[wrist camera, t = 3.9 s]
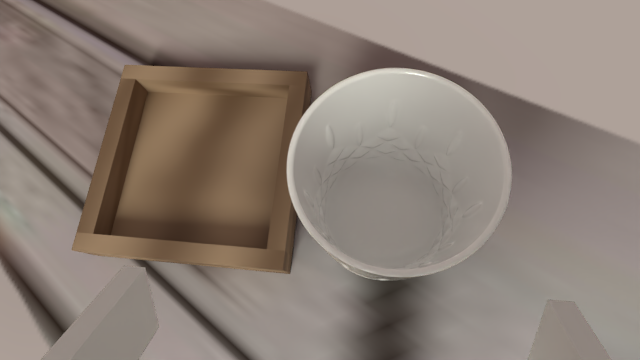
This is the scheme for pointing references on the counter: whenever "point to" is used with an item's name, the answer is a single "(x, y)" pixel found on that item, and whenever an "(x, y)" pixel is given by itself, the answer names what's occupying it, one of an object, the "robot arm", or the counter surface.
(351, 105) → the white cup
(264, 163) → the walnut coaster tray
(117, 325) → the robot arm
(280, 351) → the counter surface
